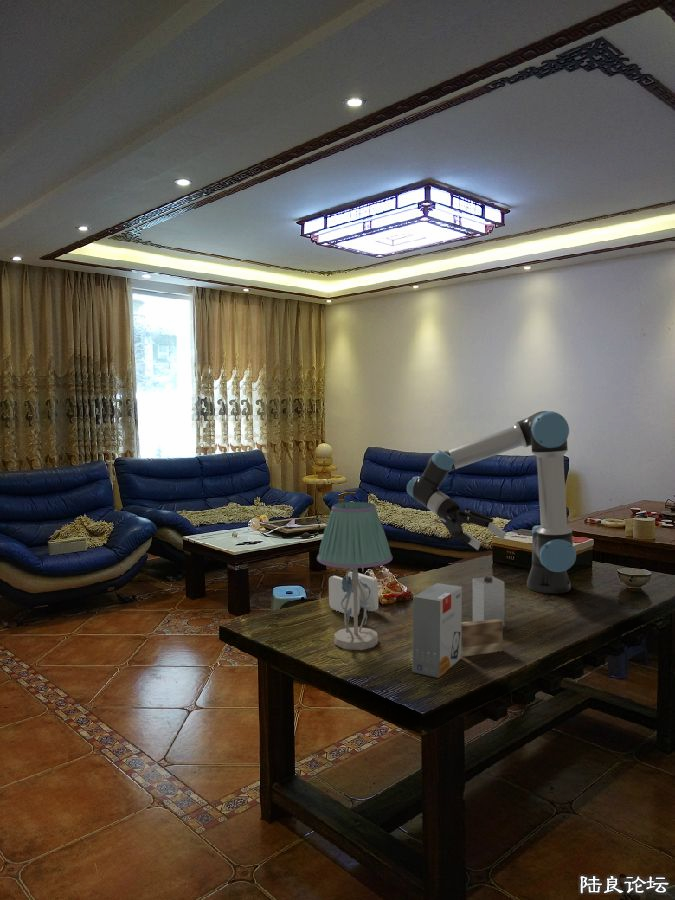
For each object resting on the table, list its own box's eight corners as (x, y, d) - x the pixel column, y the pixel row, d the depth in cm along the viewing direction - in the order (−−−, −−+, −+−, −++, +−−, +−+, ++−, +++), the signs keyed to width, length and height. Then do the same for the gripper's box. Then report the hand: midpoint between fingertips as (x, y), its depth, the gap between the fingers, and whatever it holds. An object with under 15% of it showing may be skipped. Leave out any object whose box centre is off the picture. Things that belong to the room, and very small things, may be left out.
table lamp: (342, 624, 205) (340, 497, 202) (405, 636, 194) (404, 502, 191) (304, 647, 186) (300, 508, 183) (371, 662, 175) (369, 514, 172)
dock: (471, 629, 198) (471, 601, 198) (502, 651, 181) (502, 620, 180) (434, 634, 195) (434, 606, 194) (463, 656, 178) (463, 626, 177)
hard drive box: (439, 679, 164) (439, 601, 162) (411, 673, 168) (410, 597, 166) (462, 658, 177) (462, 585, 175) (436, 652, 181) (435, 581, 179)
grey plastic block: (327, 608, 221) (326, 574, 220) (351, 602, 227) (350, 569, 226) (355, 620, 209) (355, 584, 208) (380, 612, 215) (379, 578, 215)
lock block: (492, 619, 207) (492, 573, 205) (504, 627, 200) (504, 579, 199) (472, 622, 205) (472, 575, 203) (483, 629, 198) (483, 581, 197)
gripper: (463, 508, 234) (510, 541, 221) (416, 523, 218) (464, 560, 205) (469, 491, 231) (517, 523, 218) (422, 504, 215) (471, 540, 201)
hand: (492, 541), depth 211 cm, fingers open, 13 cm apart
